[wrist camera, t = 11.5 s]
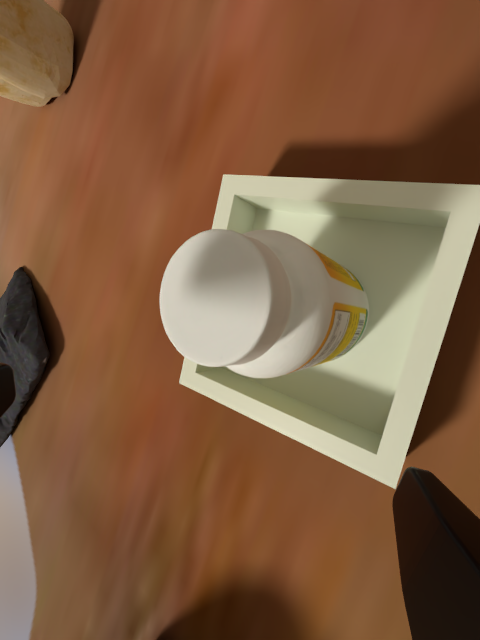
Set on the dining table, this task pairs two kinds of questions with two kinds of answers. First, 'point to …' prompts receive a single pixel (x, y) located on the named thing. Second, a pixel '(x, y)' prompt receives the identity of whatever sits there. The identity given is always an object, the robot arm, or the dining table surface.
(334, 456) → the bin
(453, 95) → the dining table surface
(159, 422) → the dining table surface
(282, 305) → the supplement bottle
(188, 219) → the dining table surface
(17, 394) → the dark slate chunk
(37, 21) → the food model
